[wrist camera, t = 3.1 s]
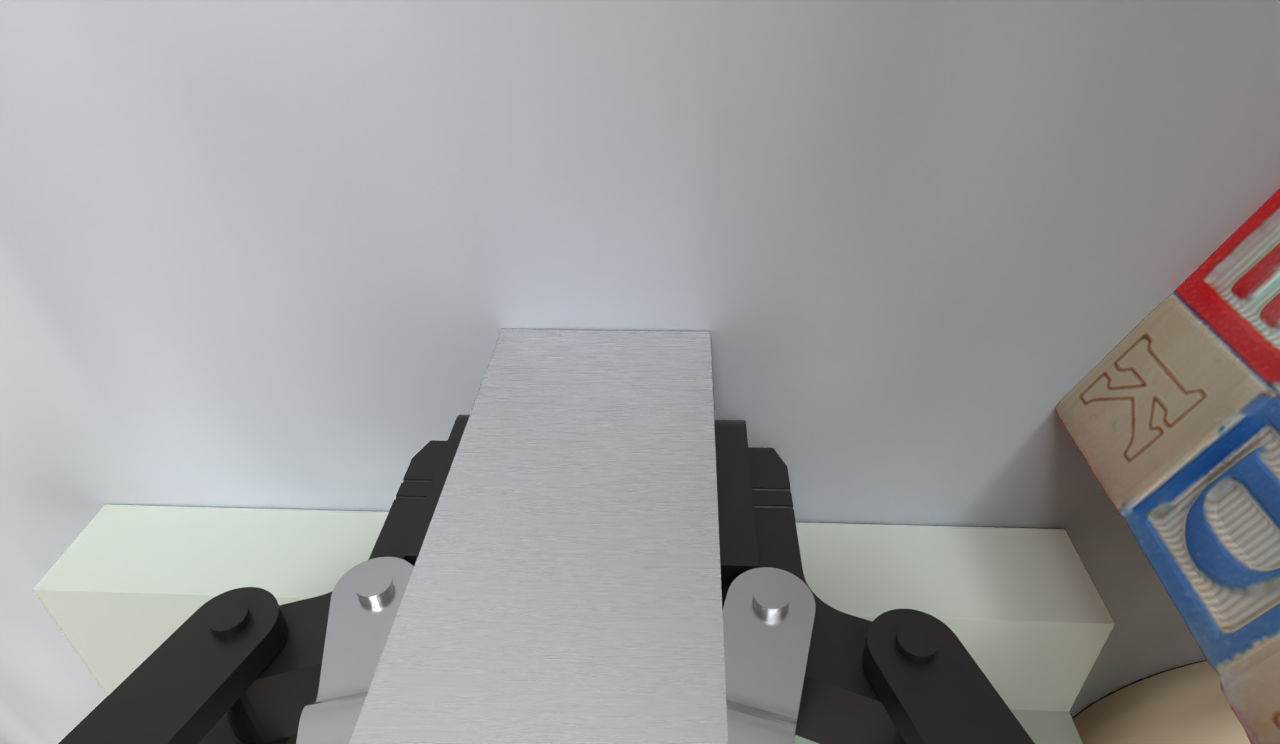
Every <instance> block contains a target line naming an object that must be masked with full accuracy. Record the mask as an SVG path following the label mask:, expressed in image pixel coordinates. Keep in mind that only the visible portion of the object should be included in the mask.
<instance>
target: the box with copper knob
mask: <svg viewBox="0 0 1280 744" xmlns="http://www.w3.org/2000/svg"><path fill="white" fill-rule="evenodd" d="M349 744H728V730H727V707H726V683H725V660H724V637H723V614H722V590H721V567H720V544H719V521H718V497H717V474H716V451H715V428H714V404H713V381H712V358H711V335H710V332H709V331H620V330H531V329H501V332H500V335H499V337H498V340H497V343H496V346H495V348H494V351H493V354H492V356H491V359H490V362H489V365H488V367H487V370H486V373H485V376H484V378H483V381H482V384H481V386H480V389H479V392H478V395H477V397H476V400H475V403H474V405H473V408H472V411H471V414H470V416H469V419H468V422H467V424H466V427H465V430H464V433H463V435H462V438H461V441H460V444H459V446H458V449H457V452H456V454H455V457H454V460H453V463H452V465H451V468H450V471H449V473H448V476H447V479H446V482H445V484H444V487H443V490H442V492H441V495H440V498H439V501H438V503H437V506H436V509H435V511H434V514H433V517H432V520H431V522H430V525H429V528H428V531H427V533H426V536H425V539H424V541H423V544H422V547H421V550H420V552H419V555H418V558H417V560H416V563H415V566H414V569H413V571H412V574H411V577H410V579H409V582H408V585H407V588H406V590H405V593H404V596H403V599H402V601H401V604H400V607H399V609H398V612H397V615H396V618H395V620H394V623H393V626H392V628H391V631H390V634H389V637H388V639H387V642H386V645H385V647H384V650H383V653H382V656H381V658H380V661H379V664H378V666H377V669H376V672H375V675H374V677H373V680H372V683H371V686H370V688H369V691H368V694H367V696H366V699H365V702H364V705H363V707H362V710H361V713H360V715H359V718H358V721H357V724H356V726H355V729H354V732H353V734H352V737H351V740H350V743H349Z"/></svg>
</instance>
